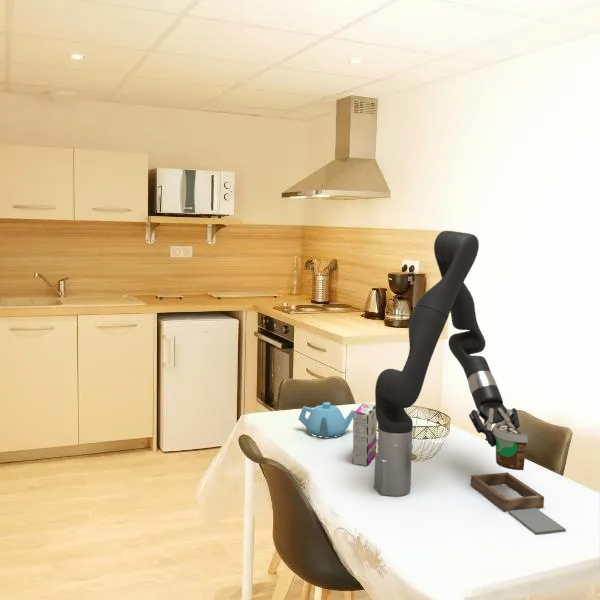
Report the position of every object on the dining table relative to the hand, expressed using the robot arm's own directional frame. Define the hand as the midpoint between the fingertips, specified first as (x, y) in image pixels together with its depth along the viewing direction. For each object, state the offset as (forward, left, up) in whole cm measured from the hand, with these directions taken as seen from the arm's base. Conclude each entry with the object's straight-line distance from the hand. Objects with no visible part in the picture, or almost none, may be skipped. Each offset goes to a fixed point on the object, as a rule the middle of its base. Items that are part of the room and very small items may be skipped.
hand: (504, 444), depth 176 cm
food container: (-1, -1, -5) cm, 5 cm away
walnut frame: (0, -1, -14) cm, 14 cm away
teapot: (-32, +61, -14) cm, 70 cm away
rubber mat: (-1, -17, -14) cm, 22 cm away
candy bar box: (-28, +33, -14) cm, 45 cm away
